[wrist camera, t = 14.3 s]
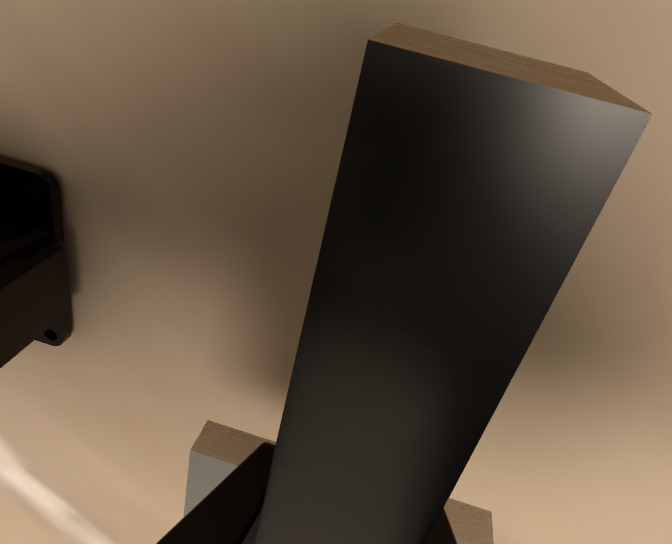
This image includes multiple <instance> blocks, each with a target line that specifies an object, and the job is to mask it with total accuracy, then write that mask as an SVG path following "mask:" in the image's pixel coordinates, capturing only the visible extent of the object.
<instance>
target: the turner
mask: <svg viewBox="0 0 672 544" xmlns="http://www.w3.org/2000/svg"><path fill="white" fill-rule="evenodd" d="M651 116H652V114H651V113H650V112H648V111H646V110H645V109H643V108H642V107H640V106H639V105H637V104H636V103H634V102H632V101H631V100H629V99H628V98H626V97H625V96H623V95H621V94H620V93H618V92H617V91H615V90H614V89H612V88H611V87H609V86H607V85H606V84H604V83H603V82H601V81H600V80H598V79H596V78H595V77H593V76H592V75H590V74H589V73H586V72H583V71H579V70H575V69H571V68H567V67H563V66H559V65H556V64H552V63H548V62H544V61H540V60H536V59H533V58H529V57H525V56H521V55H517V54H513V53H509V52H506V51H502V50H498V49H494V48H490V47H486V46H482V45H479V44H475V43H471V42H467V41H463V40H459V39H456V38H452V37H448V36H444V35H440V34H436V33H432V32H429V31H425V30H421V29H417V28H413V27H409V26H405V25H402V24H398V23H396V24H394V25H393V26H391V27H389V28H387V29H386V30H384V31H382V32H380V33H379V34H377V35H375V36H373V37H372V38H370V39H368V43H367V47H366V51H365V56H364V60H363V64H362V69H361V73H360V78H359V82H358V86H357V91H356V95H355V100H354V104H353V108H352V113H351V117H350V122H349V126H348V130H347V135H346V139H345V143H344V148H343V152H342V157H341V161H340V165H339V170H338V174H337V179H336V183H335V187H334V192H333V196H332V200H331V205H330V209H329V214H328V218H327V222H326V227H325V231H324V236H323V240H322V244H321V249H320V253H319V257H318V262H317V266H316V271H315V275H314V279H313V284H312V288H311V293H310V297H309V301H308V306H307V310H306V315H305V319H304V323H303V328H302V332H301V336H300V341H299V345H298V350H297V354H296V358H295V363H294V367H293V372H292V376H291V380H290V385H289V389H288V393H287V398H286V402H285V407H284V411H283V415H282V420H281V424H280V429H279V433H278V437H277V442H274V441H271V440H268V439H265V438H262V437H258V436H255V435H252V434H249V433H246V432H243V431H240V430H237V429H234V428H231V427H227V426H224V425H221V424H218V423H215V422H212V421H209V420H207V422H206V424H205V426H204V427H203V429H202V431H201V433H200V434H199V436H198V438H197V439H196V441H195V443H194V445H193V446H192V448H191V450H190V459H189V469H188V479H187V489H186V499H185V509H184V517H185V516H186V515H187V514H188V513H189V512H190V511H191V510H192V509H193V508H194V507H195V506H196V505H197V504H198V503H199V502H201V501H202V500H203V499H204V498H205V497H206V496H207V495H208V494H209V493H210V492H211V491H212V490H213V489H214V488H215V487H216V486H217V485H218V484H219V483H221V482H222V481H223V480H224V479H225V478H226V477H227V476H228V475H229V474H230V473H231V472H232V471H233V470H234V469H235V468H236V467H237V466H238V465H239V464H241V463H242V462H243V461H244V460H245V459H246V458H247V457H248V456H249V455H250V454H251V453H252V452H253V451H254V450H255V449H256V448H257V447H258V446H259V445H261V444H262V443H264V442H269V443H272V444H275V445H276V446H275V450H274V455H273V459H272V464H271V468H270V472H269V477H268V481H267V486H266V490H265V494H264V499H263V509H262V514H261V518H260V522H259V527H258V531H257V535H256V540H255V544H424V543H425V541H426V540H427V538H428V536H429V534H430V532H431V530H432V528H433V526H434V525H435V523H436V521H437V519H438V517H439V515H440V513H441V511H442V509H443V508H444V509H445V512H446V514H447V517H448V520H449V522H450V525H451V528H452V530H453V533H454V536H455V538H456V541H457V544H493V529H492V514H491V511H487V510H484V509H481V508H478V507H475V506H472V505H469V504H466V503H463V502H460V501H456V500H453V499H450V498H449V496H450V494H451V493H452V491H453V489H454V487H455V485H456V483H457V481H458V479H459V477H460V476H461V474H462V472H463V470H464V468H465V466H466V464H467V462H468V460H469V459H470V457H471V455H472V453H473V451H474V449H475V447H476V445H477V444H478V442H479V440H480V438H481V436H482V434H483V432H484V430H485V428H486V427H487V425H488V423H489V421H490V419H491V417H492V415H493V413H494V412H495V410H496V408H497V406H498V404H499V402H500V400H501V398H502V396H503V395H504V393H505V391H506V389H507V387H508V385H509V383H510V381H511V379H512V378H513V376H514V374H515V372H516V370H517V368H518V366H519V364H520V363H521V361H522V359H523V357H524V355H525V353H526V351H527V349H528V347H529V346H530V344H531V342H532V340H533V338H534V336H535V334H536V332H537V330H538V329H539V327H540V325H541V323H542V321H543V319H544V317H545V315H546V314H547V312H548V310H549V308H550V306H551V304H552V302H553V300H554V298H555V297H556V295H557V293H558V291H559V289H560V287H561V285H562V283H563V282H564V280H565V278H566V276H567V274H568V272H569V270H570V268H571V266H572V265H573V263H574V261H575V259H576V257H577V255H578V253H579V251H580V249H581V248H582V246H583V244H584V242H585V240H586V238H587V236H588V234H589V233H590V231H591V229H592V227H593V225H594V223H595V221H596V219H597V217H598V216H599V214H600V212H601V210H602V208H603V206H604V204H605V202H606V201H607V199H608V197H609V195H610V193H611V191H612V189H613V187H614V185H615V184H616V182H617V180H618V178H619V176H620V174H621V172H622V170H623V168H624V167H625V165H626V163H627V161H628V159H629V157H630V155H631V153H632V152H633V150H634V148H635V146H636V144H637V142H638V140H639V138H640V136H641V135H642V133H643V131H644V129H645V127H646V125H647V123H648V121H649V119H650V118H651Z"/></svg>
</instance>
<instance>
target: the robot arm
mask: <svg viewBox="0 0 672 544" xmlns="http://www.w3.org/2000/svg"><path fill="white" fill-rule="evenodd" d="M37 182H38V183H39V184H40V185H41V186H42V189H43V191H42V190H41V189H40V188H39V187H38V184H37ZM70 336H71V323H70V310H69V295H68V282H67V269H66V256H65V245H64V233H63V220H62V207H61V194H60V186H59V183H58V181H57V179H56V178H55V176H54V175H53V174H52V173H50V172H49V171H47V170H45V169H43V168H40V167H37V166H34V165H30V164H27V163H23V162H20V161H17V160H13V159H10V158H7V157H3V156H0V368H1V367H3V366H4V365H5V364H6V363H7V362H9V361H10V360H11V359H12V358H13V357H14V356H16V355H17V354H18V353H19V352H20V351H22V350H23V349H24V348H25V347H26V346H28V345H29V344H30V343H31V342H32V341H34V340H37V341H40V342H43V343H46V344H49V345H53V346H59V345H61V344H62V343H63V342H64V341H66V340H67V339H68V338H69V337H70ZM275 446H276V445H275V444H272V443H269V442H264V443H262V444H261V445H259V446H258V447H257V448H256V449H255V450H254V451H253V452H252V453H251V454H250V455H249V456H248V457H247V458H246V459H245V460H244V461H243V462H242V463H241V464H239V465H238V466H237V467H236V468H235V469H234V470H233V471H232V472H231V473H230V474H229V475H228V476H227V477H226V478H225V479H224V480H223V481H222V482H221V483H219V484H218V485H217V486H216V487H215V488H214V489H213V490H212V491H211V492H210V493H209V494H208V495H207V496H206V497H205V498H204V499H203V500H202V501H201V502H199V503H198V504H197V505H196V506H195V507H194V508H193V509H192V510H191V511H190V512H189V513H188V514H187V515H186V516H185V517H184V518H183V519H182V520H181V521H180V522H178V523H177V524H176V525H175V526H174V527H173V528H172V529H171V530H170V531H169V532H168V533H167V534H166V535H165V536H164V537H163V538H162V539H161V540H160V541H158V542H157V543H156V544H255V540H256V535H257V531H258V527H259V522H260V518H261V514H262V509H263V499H264V494H265V490H266V486H267V481H268V477H269V472H270V468H271V464H272V459H273V455H274V450H275ZM424 544H457V541H456V538H455V536H454V533H453V530H452V528H451V525H450V522H449V520H448V517H447V514H446V512H445V509H444V508H443V509H442V511H441V513H440V515H439V517H438V519H437V521H436V523H435V525H434V526H433V528H432V530H431V532H430V534H429V536H428V538H427V540H426V541H425V543H424Z"/></svg>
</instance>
